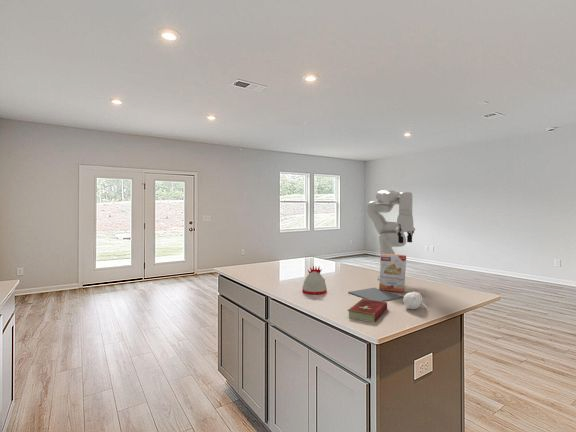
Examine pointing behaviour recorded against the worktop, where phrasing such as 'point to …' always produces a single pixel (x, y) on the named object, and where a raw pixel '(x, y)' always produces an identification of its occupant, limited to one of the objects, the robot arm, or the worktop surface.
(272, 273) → the worktop surface
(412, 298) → the crumpled paper ball
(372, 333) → the worktop surface
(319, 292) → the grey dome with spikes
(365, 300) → the hardcover book
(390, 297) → the mat
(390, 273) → the cracker box
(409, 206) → the robot arm
